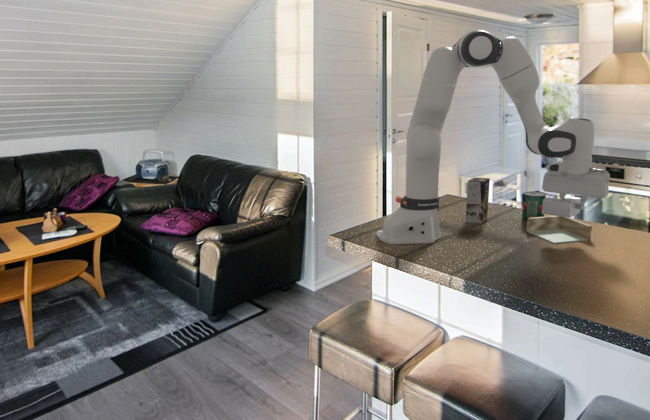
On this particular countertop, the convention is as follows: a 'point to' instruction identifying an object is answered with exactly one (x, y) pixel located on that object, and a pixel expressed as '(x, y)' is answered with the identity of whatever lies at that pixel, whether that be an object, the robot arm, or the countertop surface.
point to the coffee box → (477, 200)
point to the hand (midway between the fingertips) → (572, 207)
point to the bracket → (561, 206)
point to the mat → (557, 236)
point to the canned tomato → (532, 205)
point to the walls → (559, 225)
